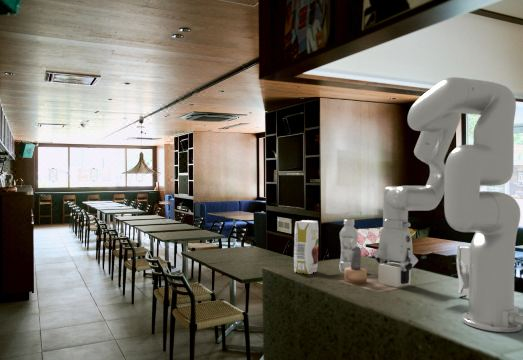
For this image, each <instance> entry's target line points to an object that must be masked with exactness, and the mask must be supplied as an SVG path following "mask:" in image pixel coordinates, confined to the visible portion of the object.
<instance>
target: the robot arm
mask: <svg viewBox="0 0 523 360" xmlns="http://www.w3.org/2000/svg"><path fill="white" fill-rule="evenodd" d="M516 108H517V101H516V97H515V95H514V93H513V91H512V90H511V89H510V88H509V87H507V86H505V85H503V84H501V83H497V82H493V81H488V80H487V81H486V80H482V79H475V78H474V79H473V78H472V79H470V78H464V77H457V76H456V77H455V76H453V77H451V76H450V77H447V78H445V79H443V80H441V81H440V82H438V83H437V84H435V85H433V87H431V88H430V89H429V90H428V91H426V92H425V93H423V94H422V95H421V96H419V98H417V100H415V102H414V103H413V104H412V105H411V107H410V109H409V111H408V114H407V124H408V126H409V128H411V129H412V130H413V131H417V132H420V135H419V137H418V139H417V142H416V144H415V147H414V150H413V153H414V156H415V157H416V158H417V159H418V160H420V161H421V162H423V163H425V164H426V165H428V166H429V177H428V179H427V181H426V184H425V185H401V186H400V185H399V186H395V185H393V186H385V187H384V188H383V199H382V200H383V203H382V207H383V208H382V209H383V210H382V211H383V213H382V216H383V217H382V228H381V230H380V234H379V242H378V243H379V244H378V248H377V249H376V250H375V251H374V252H373V256H374V257H375V260H376V262H377V263H378V265H379V264H383V263H390V262H395V263H399V264H401V267H402V269H403V271H401V284H406V283H409V271H410V270H411V271H412V269H414V267H415V265H416V264H417V263H418V262H419V259H418V258H417V257H416V255H414V252H413V251H414V250H413V238H412V233H411V231H410V229H409V228H410V227H411V223H410V222H409V220H408V219H409V211H412V212H413V211H414V212H415V211H432V210H435V209H436V208H437V207H438V205H440V202H441V201H442V199H443V198H444V201H443V207H444V217H445V220H446V222H447V224H448V225H449V227H451V228H452V229H453V230H454V231H458V232H461V233H474V235H473V238H472V240H471V242H470V245H469V246H470V261H469V300H468V311H467V312H462V314H461V321H462V322H463V323H464V324H466V325H468V326H471V327H473V328H476V329H480V330H483V331H487V332H489V331H490V332H495V333H496V332H498V333H517V332H520V331H521V329H522V327H523V315H521V313H519V308H518V307H515V267H516V265H515V263H516V262H515V261H516V241H517V234H518V229H519V224H520V221H521V209H520V206H519V203H518V201H517V200H516V199H515V198H514V197H513V196H511V195H509V194H507V193H504V192H501V191H484V190H483V191H481V189H480V188H481V187H482V186H483V187H487V186H488V187H491V186H492V187H495V186H496V187H497V186H502V185H506V184H507V183H508V182H510V180H511V179H512V177H513V173H514V152H515V151H514V150H515V149H514V144H515V143H514V139H515V137H514V136H515V133H514V126H515V125H514V124H515V118H516V117H515V116H516V110H517V109H516ZM462 114H464V115H465V114H466V115H479V117H478V119H477V120H476V123H475V125H474V128H473V144H461V145H459V146H457V147H454V149H453V150H452V151H451V152H450V153H449V154H448V150H449V148H450V145H451V143H452V140H453V138H454V136H455V134H456V132H457V130H458V127H459V124H460V121H461V119H462V118H461V117H462ZM447 154H448V157H447V159H446V161H445V158H446V155H447ZM443 196H444V197H443ZM405 265H406V266H405Z"/></svg>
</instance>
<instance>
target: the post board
mask: <svg viewBox="0 0 523 360" xmlns="http://www.w3.org/2000/svg"><path fill="white" fill-rule="evenodd" d="M361 254H362V249H361V247H359V246H358V245H356V246H354V247H352V249H351V267H347V268H345V273H344V278H343V279H339V280H337V282H339V283H343V284H346V285H351V286H354V287H358V288H360V289H364V290H365V289H366V290H369V291H371V292H376V293H382V292H387V291H392V290H397V289H401V288H402V289H403V288H408V287H412V286H415V284H413V283H411V285H406V286H401V287H393V286H389V285H385V284H381V283H378V275H373V274H370V275H368V274H367V273H368V270H367V269H366V268H364V267H361V266H362V265H361V262H362V259H361V256H362V255H361Z"/></svg>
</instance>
